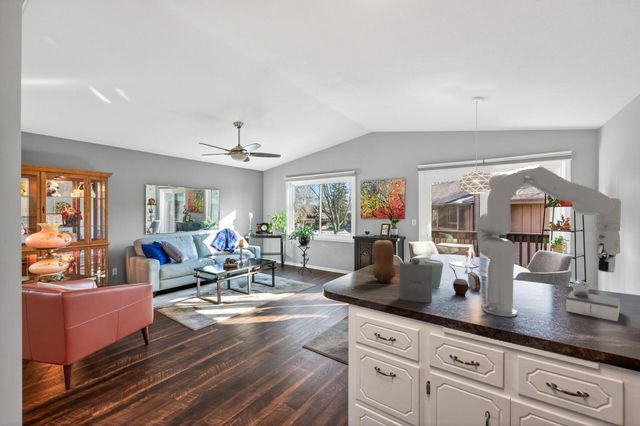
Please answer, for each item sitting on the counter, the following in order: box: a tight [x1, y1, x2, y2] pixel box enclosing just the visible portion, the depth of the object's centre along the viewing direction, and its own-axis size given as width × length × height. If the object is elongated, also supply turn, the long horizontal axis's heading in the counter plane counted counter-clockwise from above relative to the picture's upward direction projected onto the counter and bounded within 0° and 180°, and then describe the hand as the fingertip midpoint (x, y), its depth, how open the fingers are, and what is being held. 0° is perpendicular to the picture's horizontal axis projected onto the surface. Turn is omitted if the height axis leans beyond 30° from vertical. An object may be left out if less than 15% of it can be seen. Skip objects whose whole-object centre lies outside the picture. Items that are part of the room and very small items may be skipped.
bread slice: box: [467, 271, 482, 292], centre depth 167 cm, size 15×3×8 cm, turn 168°
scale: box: [565, 290, 621, 322], centre depth 130 cm, size 17×16×6 cm
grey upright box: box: [398, 257, 433, 303], centre depth 145 cm, size 15×6×20 cm, turn 70°
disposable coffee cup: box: [423, 258, 444, 289], centre depth 169 cm, size 11×11×15 cm
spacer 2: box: [598, 256, 616, 273], centre depth 128 cm, size 5×5×6 cm
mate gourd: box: [448, 265, 469, 298], centre depth 153 cm, size 8×8×15 cm
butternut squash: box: [372, 239, 397, 283], centre depth 180 cm, size 14×13×25 cm
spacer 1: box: [572, 280, 590, 298], centre depth 134 cm, size 5×5×6 cm
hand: (606, 269), depth 128 cm, fingers closed on spacer 2, 5 cm apart
